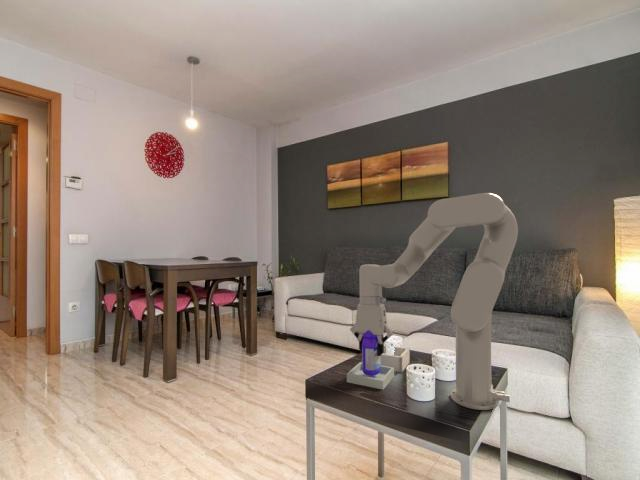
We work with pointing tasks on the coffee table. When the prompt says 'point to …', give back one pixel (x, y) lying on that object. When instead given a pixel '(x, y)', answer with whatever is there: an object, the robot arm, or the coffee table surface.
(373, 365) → the bottle
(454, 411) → the coffee table surface
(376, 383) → the tray
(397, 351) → the box
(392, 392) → the coffee table surface
